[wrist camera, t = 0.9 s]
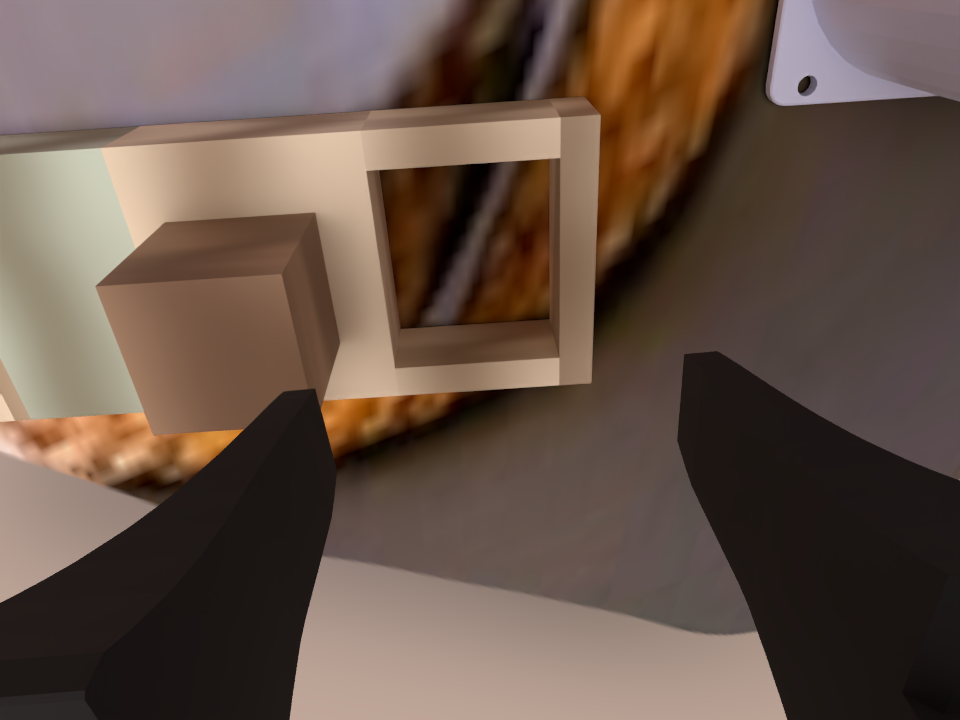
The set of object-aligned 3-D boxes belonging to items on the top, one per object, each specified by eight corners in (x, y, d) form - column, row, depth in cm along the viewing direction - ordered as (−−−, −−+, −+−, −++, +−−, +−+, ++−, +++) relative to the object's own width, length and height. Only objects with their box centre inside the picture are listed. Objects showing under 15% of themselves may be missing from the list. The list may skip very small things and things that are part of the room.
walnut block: (315, 212, 18) (281, 273, 14) (340, 343, 20) (316, 424, 16) (164, 222, 18) (95, 286, 14) (205, 351, 20) (153, 435, 16)
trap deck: (583, 96, 19) (600, 114, 17) (578, 343, 23) (591, 383, 21) (-248, 152, 19) (-338, 177, 17) (-103, 387, 23) (-161, 432, 21)
